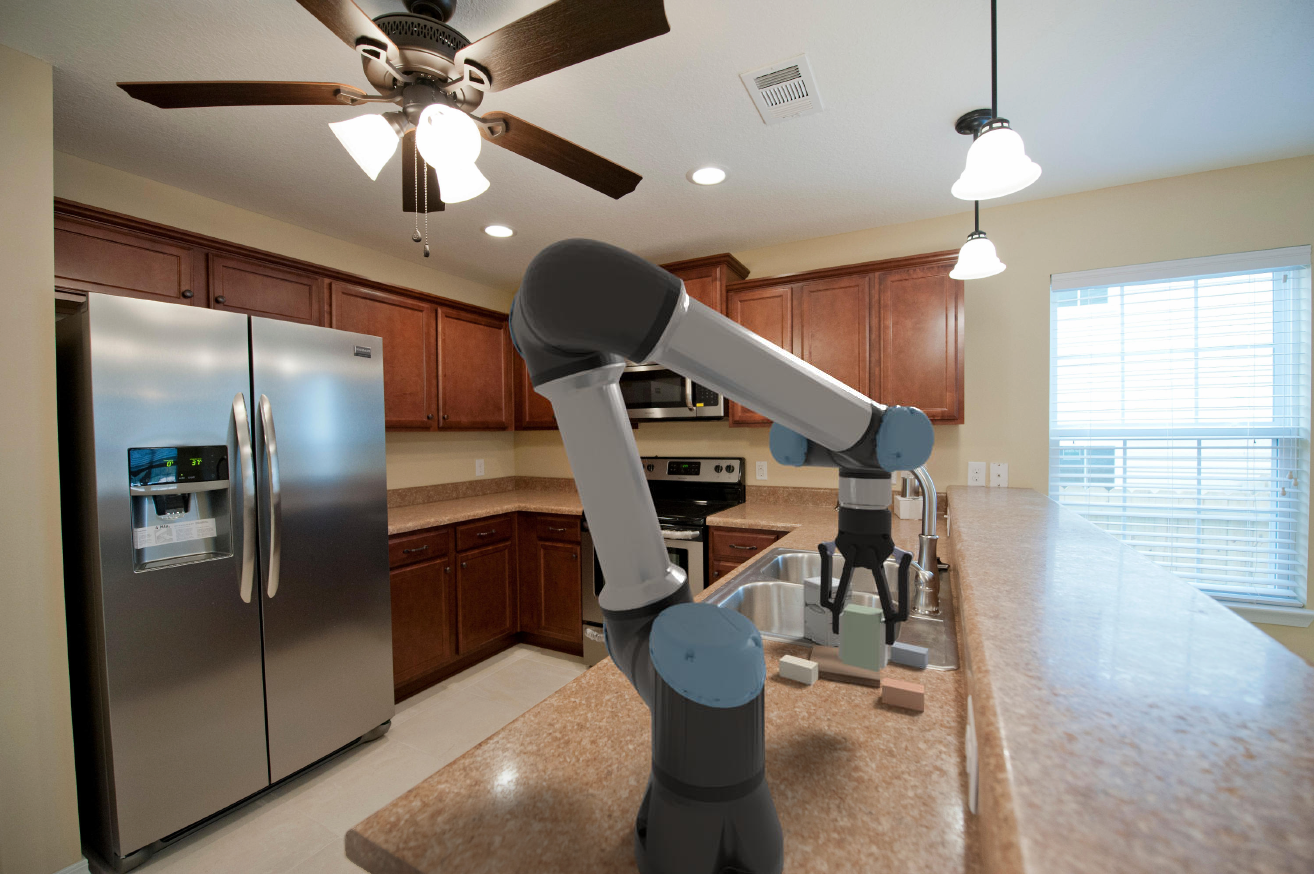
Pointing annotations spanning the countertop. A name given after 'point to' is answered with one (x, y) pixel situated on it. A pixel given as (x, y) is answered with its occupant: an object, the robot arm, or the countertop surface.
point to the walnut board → (841, 667)
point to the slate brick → (910, 655)
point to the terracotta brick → (903, 694)
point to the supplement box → (820, 612)
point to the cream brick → (798, 669)
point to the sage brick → (861, 636)
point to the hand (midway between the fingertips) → (862, 660)
